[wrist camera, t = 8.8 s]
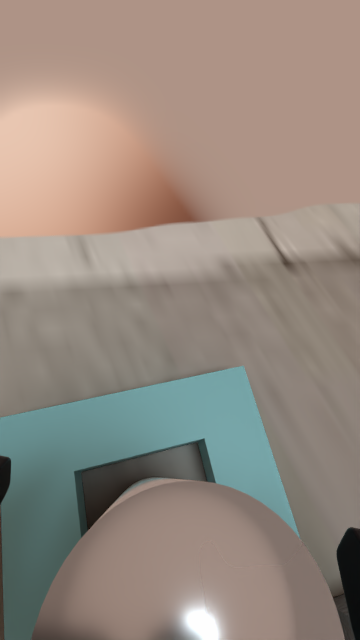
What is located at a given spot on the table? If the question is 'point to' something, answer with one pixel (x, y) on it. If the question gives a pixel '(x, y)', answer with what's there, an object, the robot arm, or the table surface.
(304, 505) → the table surface
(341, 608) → the socket block
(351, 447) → the table surface
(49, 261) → the table surface
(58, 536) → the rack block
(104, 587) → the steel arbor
